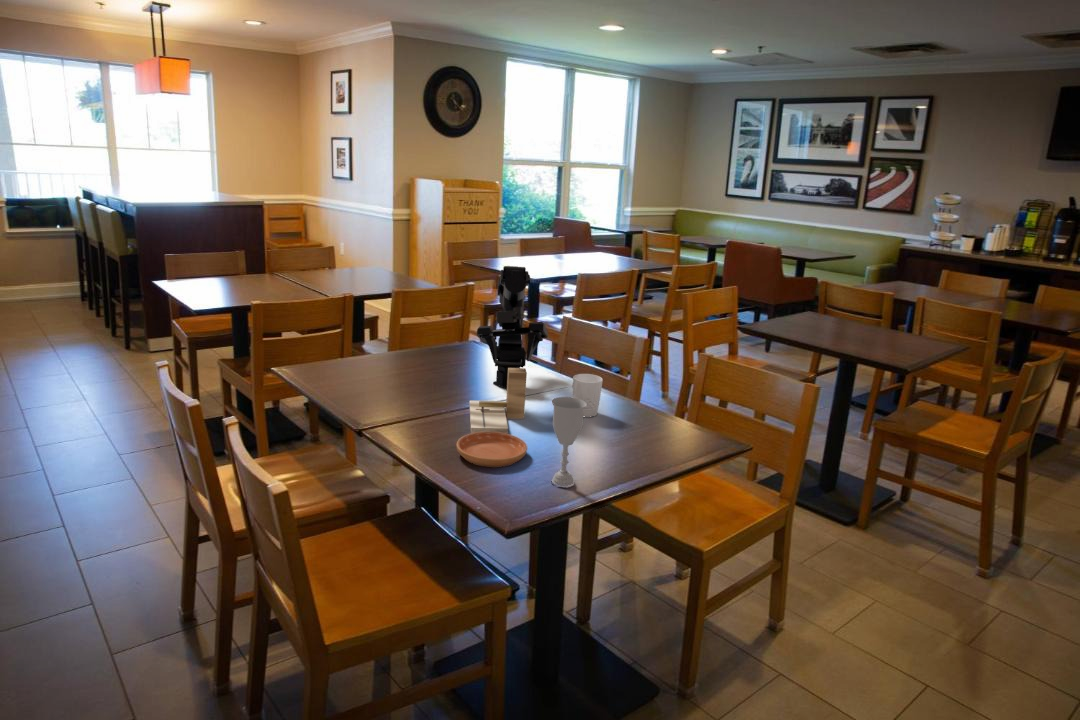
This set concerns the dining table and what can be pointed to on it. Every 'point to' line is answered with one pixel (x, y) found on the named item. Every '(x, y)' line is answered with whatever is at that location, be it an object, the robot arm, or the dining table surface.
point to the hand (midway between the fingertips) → (511, 361)
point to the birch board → (487, 418)
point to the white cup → (588, 392)
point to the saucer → (491, 448)
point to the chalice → (566, 431)
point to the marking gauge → (512, 394)
